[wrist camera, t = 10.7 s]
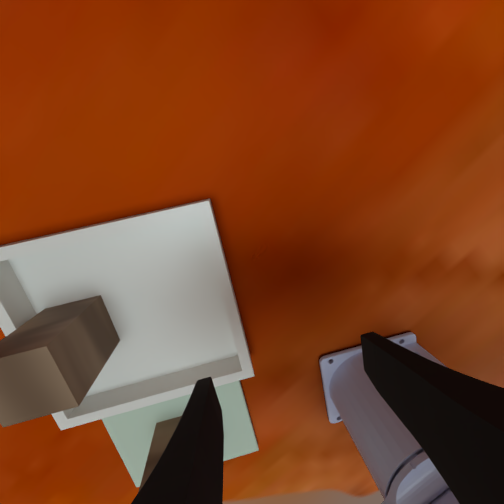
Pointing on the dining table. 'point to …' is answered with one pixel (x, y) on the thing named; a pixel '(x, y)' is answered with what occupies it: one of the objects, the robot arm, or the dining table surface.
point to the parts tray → (137, 303)
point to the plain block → (54, 359)
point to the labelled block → (158, 445)
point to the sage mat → (144, 419)
